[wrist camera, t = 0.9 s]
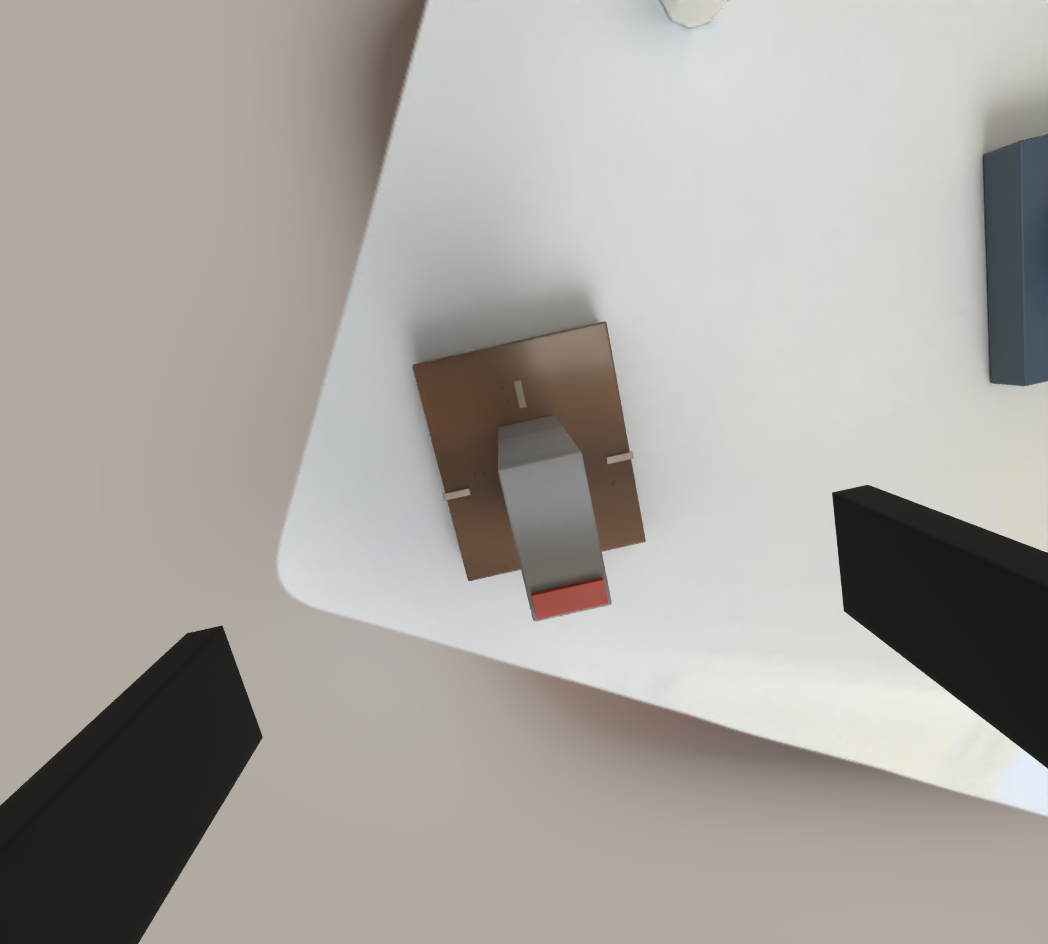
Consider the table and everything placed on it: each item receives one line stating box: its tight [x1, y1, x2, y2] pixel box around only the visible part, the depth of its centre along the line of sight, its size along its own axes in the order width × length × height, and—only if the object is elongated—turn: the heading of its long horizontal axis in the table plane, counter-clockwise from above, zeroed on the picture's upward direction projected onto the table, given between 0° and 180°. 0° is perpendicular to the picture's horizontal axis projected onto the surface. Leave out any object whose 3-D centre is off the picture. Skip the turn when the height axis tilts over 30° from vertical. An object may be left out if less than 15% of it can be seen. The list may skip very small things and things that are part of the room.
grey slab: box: [498, 415, 611, 621], centre depth 26 cm, size 6×3×10 cm, turn 12°
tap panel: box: [413, 322, 646, 581], centre depth 31 cm, size 12×10×2 cm
